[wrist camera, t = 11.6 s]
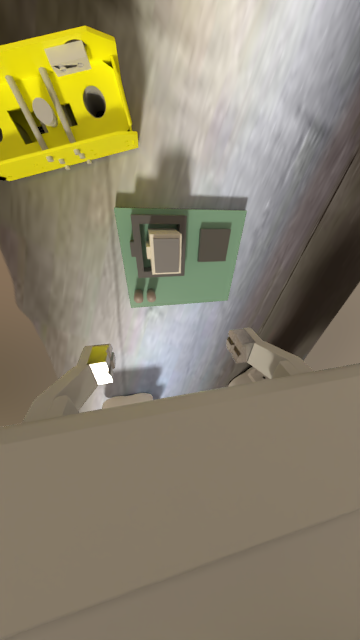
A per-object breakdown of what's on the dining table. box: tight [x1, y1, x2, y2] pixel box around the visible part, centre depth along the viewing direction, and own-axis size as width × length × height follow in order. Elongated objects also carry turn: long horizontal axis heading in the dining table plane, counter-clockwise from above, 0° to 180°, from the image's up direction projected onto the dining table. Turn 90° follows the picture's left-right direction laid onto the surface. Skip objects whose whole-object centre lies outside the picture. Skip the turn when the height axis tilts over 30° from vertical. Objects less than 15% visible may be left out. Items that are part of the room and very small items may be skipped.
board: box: [114, 207, 247, 308], centre depth 29 cm, size 20×16×4 cm
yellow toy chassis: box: [0, 26, 138, 181], centre depth 16 cm, size 16×6×8 cm, turn 102°
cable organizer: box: [102, 393, 153, 409], centre depth 48 cm, size 15×11×12 cm
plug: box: [146, 228, 182, 275], centre depth 24 cm, size 4×5×7 cm
